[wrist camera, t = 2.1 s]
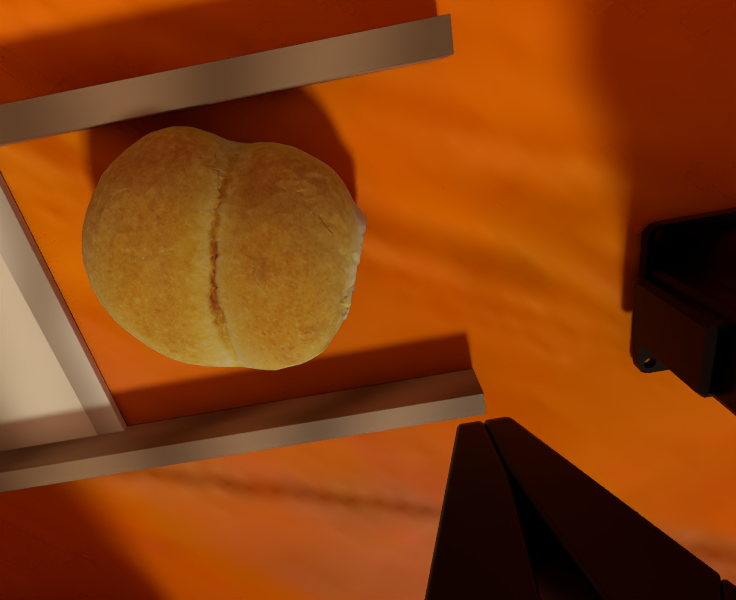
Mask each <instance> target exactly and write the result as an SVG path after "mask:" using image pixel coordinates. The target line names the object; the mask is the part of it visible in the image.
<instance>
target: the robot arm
mask: <svg viewBox="0 0 736 600" xmlns="http://www.w3.org/2000/svg"><path fill="white" fill-rule="evenodd" d="M661 231H662V235H661V237H660V238H659V239H658V240H656V241H655V236H656V235H657V234H658V233H659V232H661ZM632 338H633V339H634V350H633V364H634V365H635V366H636V367H637V368H638V369H639V370H640V371H641V372H644V373H652V372H658V371H664V370H670V371H672V372H673V373H674V374H675V375H676V376H677V377H679V378H680V379H681V380H682V381H683V382H684V383H685V384H687V385H688V386H689V387H690V388H691V389H692V390H694V391H695V392H696V393H697V394H699V395H700V396H702V397H704V398H705V397H712V396H713V397H714V398H715V399H716V400H717V401H719V402H720V403H721V404H722V405H723V406H725V407H726V408H727V409H728V410H729V411H731V412H732V413H733V414H734V415H735V416H736V208H731V209H725V210H720V211H714V212H708V213H703V214H697V215H691V216H686V217H680V218H675V219H669V220H663V221H658V222H654V223H651V224H650V225H649V226H647V227H646V228H645V230H644V231H643V234H642V240H641V254H640V268H639V279H638V281H637V282H636V284H635V297H634V311H633V326H632ZM649 358H650V360H649V361H648V362H646V363H645V361H646V360H647V359H649ZM425 600H736V586H735V585H733V584H732V583H731V582H729V581H728V580H726V579H723V580H721V579H720V575H719V574H718V573H717V572H716V571H714V570H713V569H712V568H710V567H709V566H708V565H706V564H705V563H704V562H702V561H701V560H700V559H698V558H697V557H696V556H694V555H693V554H692V553H690V552H689V551H688V550H686V549H685V548H684V547H682V546H681V545H680V544H678V543H677V542H676V541H674V540H673V539H672V538H670V537H669V536H668V535H666V534H665V533H664V532H662V531H661V530H660V529H658V528H657V527H656V526H654V525H653V524H652V523H650V522H649V521H648V520H646V519H645V518H644V517H642V516H641V515H640V514H638V513H637V512H636V511H634V510H633V509H632V508H630V507H629V506H628V505H626V504H625V503H624V502H622V501H621V500H620V499H618V498H617V497H616V496H614V495H613V494H612V493H610V492H609V491H608V490H606V489H605V488H604V487H602V486H601V485H600V484H598V483H597V482H596V481H594V480H593V479H592V478H590V477H589V476H588V475H586V474H585V473H584V472H582V471H581V470H580V469H578V468H577V467H576V466H575V465H573V464H572V463H571V462H569V461H568V460H567V459H565V458H564V457H563V456H561V455H560V454H559V453H557V452H556V451H555V450H553V449H552V448H551V447H549V446H548V445H547V444H545V443H544V442H543V441H541V440H540V439H539V438H537V437H536V436H535V435H533V434H532V433H531V432H529V431H528V430H527V429H525V428H524V427H523V426H521V425H520V424H519V423H517V422H516V421H515V420H513V419H512V418H509V417H501V418H495V419H489V420H486V421H485V423H483V422H481V421H476V422H470V423H464V424H460V425H459V426H458V428H457V432H456V437H455V442H454V448H453V453H452V458H451V464H450V469H449V474H448V479H447V485H446V490H445V495H444V500H443V506H442V511H441V516H440V521H439V527H438V532H437V537H436V542H435V548H434V553H433V558H432V564H431V569H430V574H429V579H428V585H427V590H426V595H425Z"/></svg>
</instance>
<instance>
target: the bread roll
mask: <svg viewBox="0 0 736 600" xmlns="http://www.w3.org/2000/svg"><path fill="white" fill-rule="evenodd" d="M365 231H366V217H365V215H364V214H363V212H362V211H361V210H360V208H359V207H358V206H357V204H356V203H355V202H354V200H353V199H352V196H351V194H350V192H349V190H348V189H347V187H346V186H345V184H344V182H343V181H342V179H341V178H340V177H339V175H338V174H337V173H336V172H335V171H334V170H333V169H332V168H331V167H329V166H328V165H326V164H325V163H324V162H322V161H320V160H319V159H317V158H315V157H313V156H311V155H310V154H308V153H306V152H304V151H302V150H300V149H298V148H296V147H293V146H290V145H285V144H281V143H275V142H255V143H241V142H235V141H230V140H227V139H224V138H222V137H220V136H218V135H216V134H213V133H210V132H207V131H204V130H201V129H198V128H195V127H190V126H172V127H168V128H164V129H160V130H157V131H154V132H151V133H149V134H147V135H146V136H144V137H142V138H140V139H139V140H138V141H136V142H135V143H134V144H132V145H131V146H130V147H129V148H127V149H126V150H125V151H124V152H122V153H121V154H120V155H119V156H118V157H117V158H116V159H115V160H114V161H113V162H112V163H111V164H110V165H109V166H108V168H107V169H106V170H105V171H104V172H103V174H102V175H101V177H100V180H99V182H98V184H97V186H96V188H95V190H94V193H93V195H92V198H91V200H90V203H89V206H88V208H87V212H86V216H85V220H84V225H83V231H82V255H83V262H84V266H85V269H86V272H87V275H88V278H89V281H90V284H91V287H92V289H93V291H94V293H95V295H96V296H97V298H98V300H99V302H100V303H101V304H102V306H103V307H104V308H105V309H106V311H107V312H108V313H109V314H110V316H111V317H112V318H113V319H114V320H115V321H116V322H117V323H118V324H119V325H120V326H121V327H123V328H124V329H125V330H126V331H128V332H129V333H130V334H131V335H133V336H134V337H135V338H137V339H138V340H139V341H141V342H142V343H144V344H145V345H147V346H149V347H150V348H152V349H153V350H155V351H157V352H159V353H161V354H163V355H165V356H167V357H169V358H171V359H174V360H177V361H180V362H183V363H187V364H193V365H201V366H219V367H247V368H254V369H261V370H279V369H282V368H287V367H291V366H295V365H299V364H302V363H305V362H307V361H309V360H311V359H313V358H314V357H316V356H318V355H319V354H320V353H322V352H323V351H324V350H325V349H326V348H327V347H328V346H329V343H330V341H331V340H332V338H333V337H334V335H335V334H336V332H337V331H338V329H339V328H340V326H341V324H342V321H343V320H344V319H346V318H347V315H348V312H349V308H350V306H351V296H352V293H353V291H354V283H355V281H356V273H357V266H358V264H359V261H360V258H361V257H360V255H361V251H362V247H363V239H364V234H365Z"/></svg>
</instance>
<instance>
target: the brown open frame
mask: <svg viewBox="0 0 736 600" xmlns="http://www.w3.org/2000/svg"><path fill="white" fill-rule="evenodd" d="M452 54H454V51H453V40H452V28H451V17H450V14H447V15H442V16H437V17H432V18H427V19H422V20H417V21H412V22H407V23H402V24H397V25H392V26H387V27H382V28H377V29H372V30H367V31H363V32H358V33H353V34H348V35H343V36H338V37H333V38H328V39H323V40H318V41H313V42H308V43H303V44H298V45H293V46H288V47H283V48H278V49H273V50H269V51H264V52H259V53H254V54H249V55H244V56H239V57H234V58H229V59H224V60H219V61H214V62H209V63H204V64H199V65H194V66H189V67H184V68H179V69H174V70H170V71H165V72H160V73H155V74H150V75H145V76H140V77H135V78H130V79H125V80H120V81H115V82H110V83H105V84H100V85H95V86H90V87H85V88H80V89H76V90H71V91H66V92H61V93H56V94H51V95H46V96H41V97H36V98H31V99H26V100H21V101H16V102H11V103H6V104H1V105H0V146H4V145H9V144H14V143H19V142H24V141H29V140H34V139H39V138H44V137H49V136H54V135H59V134H64V133H69V132H75V131H80V130H85V129H90V128H95V127H100V126H105V125H110V124H115V123H120V122H125V121H130V120H135V119H140V118H145V117H150V116H155V115H160V114H166V113H171V112H176V111H181V110H186V109H191V108H196V107H201V106H206V105H211V104H216V103H221V102H226V101H231V100H236V99H241V98H246V97H251V96H257V95H262V94H267V93H272V92H277V91H282V90H287V89H292V88H297V87H302V86H307V85H312V84H317V83H322V82H327V81H332V80H337V79H342V78H348V77H353V76H358V75H363V74H368V73H373V72H378V71H383V70H388V69H393V68H398V67H403V66H408V65H413V64H418V63H423V62H428V61H433V60H439V59H443V58H445V57H448V56H450V55H452ZM481 414H486V413H485V401H484V393H483V391H482V388H481V386H480V384H479V382H478V379H477V377H476V375H475V373H474V370H473V369H468V370H462V371H456V372H450V373H444V374H438V375H432V376H426V377H420V378H414V379H408V380H402V381H396V382H390V383H384V384H378V385H372V386H366V387H360V388H354V389H348V390H342V391H336V392H330V393H324V394H318V395H312V396H306V397H300V398H294V399H288V400H282V401H276V402H270V403H264V404H258V405H252V406H246V407H240V408H234V409H228V410H222V411H216V412H210V413H204V414H198V415H192V416H186V417H180V418H174V419H168V420H162V421H156V422H150V423H144V424H138V425H132V426H127V425H126V423H125V421H124V419H123V417H122V415H121V413H120V411H119V409H118V407H117V405H116V403H115V401H114V399H113V397H112V395H111V393H110V391H109V389H108V387H107V385H106V383H105V381H104V379H103V377H102V375H101V373H100V371H99V369H98V367H97V365H96V363H95V361H94V359H93V357H92V355H91V353H90V351H89V349H88V347H87V345H86V343H85V341H84V339H83V337H82V335H81V333H80V331H79V329H78V327H77V325H76V323H75V321H74V319H73V317H72V315H71V313H70V311H69V309H68V307H67V305H66V303H65V301H64V299H63V297H62V295H61V293H60V291H59V289H58V287H57V285H56V283H55V281H54V279H53V277H52V275H51V273H50V271H49V269H48V267H47V265H46V263H45V261H44V259H43V257H42V255H41V253H40V251H39V249H38V247H37V245H36V243H35V241H34V239H33V237H32V235H31V233H30V231H29V229H28V227H27V225H26V223H25V221H24V219H23V217H22V215H21V213H20V211H19V209H18V207H17V205H16V203H15V201H14V199H13V197H12V195H11V193H10V191H9V189H8V187H7V185H6V183H5V181H4V179H3V177H2V175H1V173H0V492H6V491H12V490H19V489H25V488H31V487H37V486H43V485H49V484H56V483H62V482H68V481H74V480H80V479H86V478H93V477H99V476H105V475H111V474H117V473H124V472H130V471H136V470H142V469H148V468H154V467H161V466H167V465H173V464H179V463H185V462H191V461H198V460H204V459H210V458H216V457H222V456H228V455H235V454H241V453H247V452H253V451H259V450H265V449H272V448H278V447H284V446H290V445H296V444H302V443H309V442H315V441H321V440H327V439H333V438H339V437H346V436H352V435H358V434H364V433H370V432H376V431H383V430H389V429H395V428H401V427H407V426H413V425H420V424H426V423H432V422H438V421H444V420H451V419H457V418H463V417H469V416H475V415H481Z"/></svg>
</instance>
